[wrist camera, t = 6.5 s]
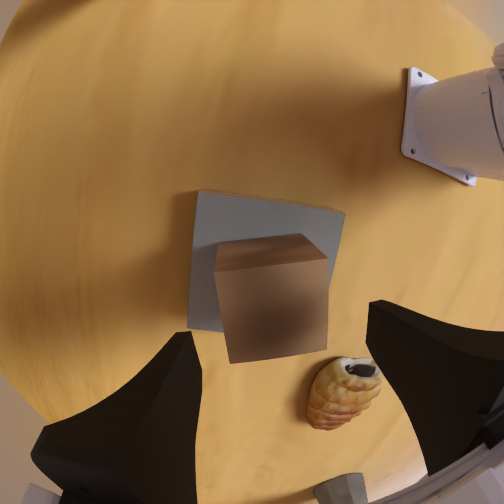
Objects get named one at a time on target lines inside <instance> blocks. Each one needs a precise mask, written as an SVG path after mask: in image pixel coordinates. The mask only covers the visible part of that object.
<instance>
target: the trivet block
mask: <svg viewBox="0 0 504 504" xmlns="http://www.w3.org/2000/svg"><path fill="white" fill-rule="evenodd" d="M344 218H345V213H343V212H340V211H338V210H335V209H333V208H329V207H323V206H318V205H312V204H306V203H300V202H293V201H287V200H281V199H274V198H267V197H260V196H253V195H246V194H238V193H230V192H222V191H213V190H205V189H202V190H201V191H199V192H198V198H197V207H196V216H195V226H194V236H193V247H192V259H191V272H190V286H189V302H188V321H187V328H189V329H198V330H206V331H215V332H224V329H223V324H222V318H221V312H220V306H219V300H218V294H217V288H216V282H215V276H214V269H215V262H216V256H217V249H218V243H219V242H226V241H234V240H243V239H251V238H260V237H269V236H278V235H287V234H296V233H302V234H303V235H304V236H305V237H306V238H308V239H309V240H310V241H311V242H312V243H313V244H314V245H315V246H316V247H317V248H318V249H319V250H320V251H321V252H322V253H324V254H325V255H326V256H327V257H328V258H329V285H330V281H331V277H332V273H333V269H334V265H335V260H336V256H337V251H338V247H339V242H340V238H341V233H342V228H343V223H344Z"/></svg>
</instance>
